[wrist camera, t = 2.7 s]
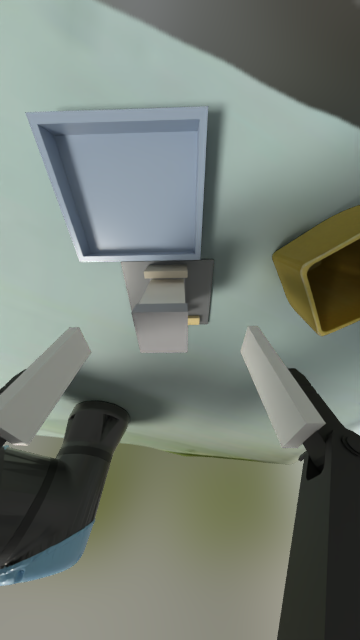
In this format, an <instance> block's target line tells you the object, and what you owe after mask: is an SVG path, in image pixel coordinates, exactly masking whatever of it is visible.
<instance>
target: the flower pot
mask: <svg viewBox="0 0 360 640" xmlns="http://www.w3.org/2000/svg"><path fill="white" fill-rule="evenodd" d="M272 259H273V262H274V265H275V267H276V270H277V272H278V275H279V278H280V281H281V283H282V286H283V289H284V292H285V295H286V297H287V299H288V301H289V303H290V305H291V306H292V307H293V309H294V310H295V311H296V312H297V313H298V314H299V315H300V316H301V317H302V318H303V319H304V321H305V322H306V323H307V324H308V325H309V326H310V327H311V328H312V329H313V330H314V331H315V332H316V333H317V334H318V335H320V336H325V335H327V334H330V333H332V332H335V331H337V330H339V329H342V328H344V327H346V326H348V325H351V324H353V323H355V322H357V321H360V205H358V206H355V207H352V208H350V209H347V210H345V211H342V212H340V213H338V214H336V215H334V216H332V217H330V218H328V219H327V220H325V221H323V222H322V223H320V224H318V225H317V226H315V227H313V228H312V229H310V230H309V231H307V232H306V233H304V234H303V235H301V236H300V237H298V238H296V239H295V240H293V241H292V242H290V243H289V244H287V245H285V246H284V247H282V248H281V249H279V250H277V251H276V252H275V253H274V254H273V255H272Z"/></svg>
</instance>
